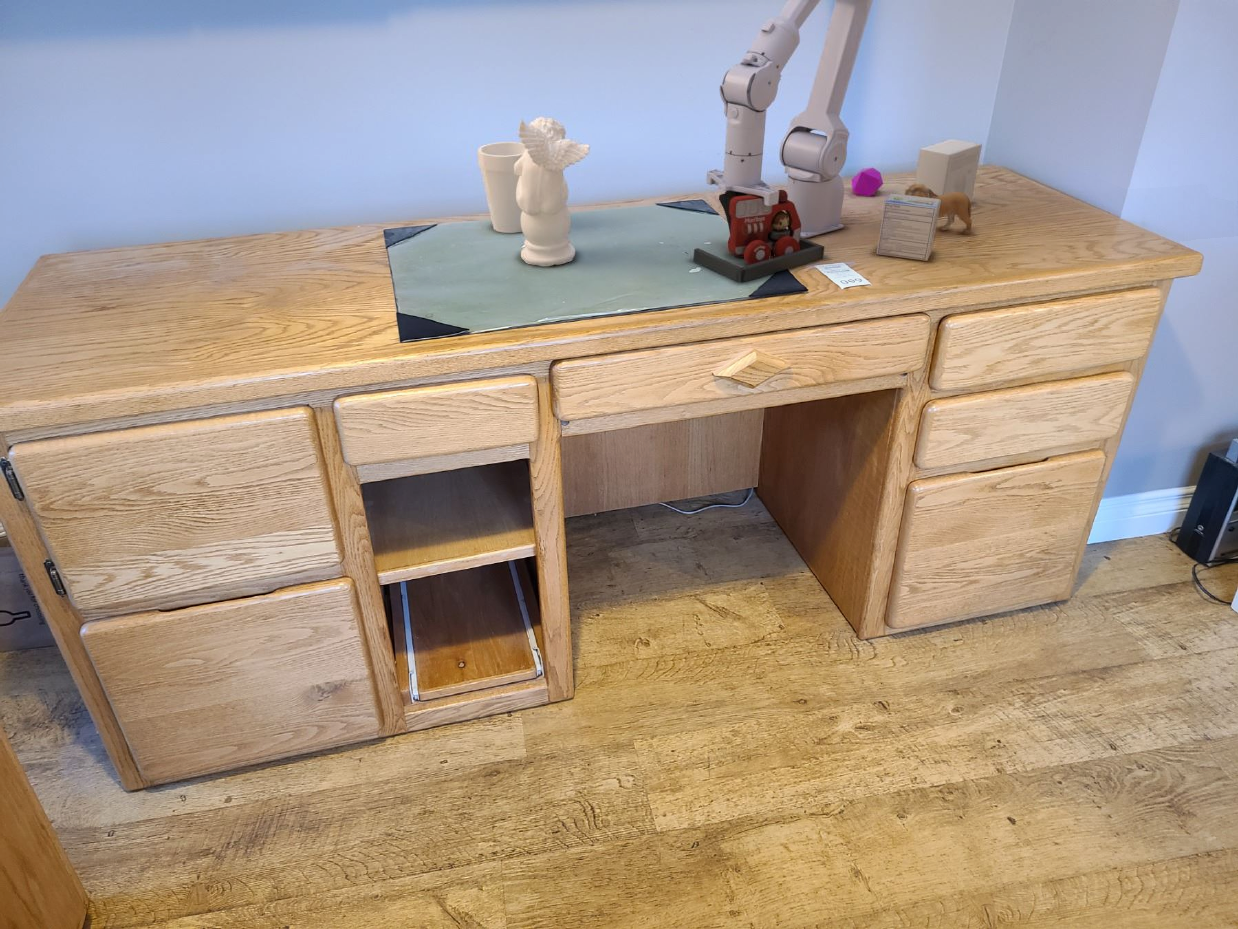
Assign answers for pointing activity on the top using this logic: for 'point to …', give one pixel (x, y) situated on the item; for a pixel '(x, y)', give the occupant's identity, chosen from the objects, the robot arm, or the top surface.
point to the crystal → (867, 182)
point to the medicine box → (908, 226)
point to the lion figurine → (947, 205)
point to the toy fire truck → (763, 228)
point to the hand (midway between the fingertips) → (737, 239)
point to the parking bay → (741, 274)
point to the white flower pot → (501, 183)
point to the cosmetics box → (949, 167)
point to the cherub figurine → (545, 191)
